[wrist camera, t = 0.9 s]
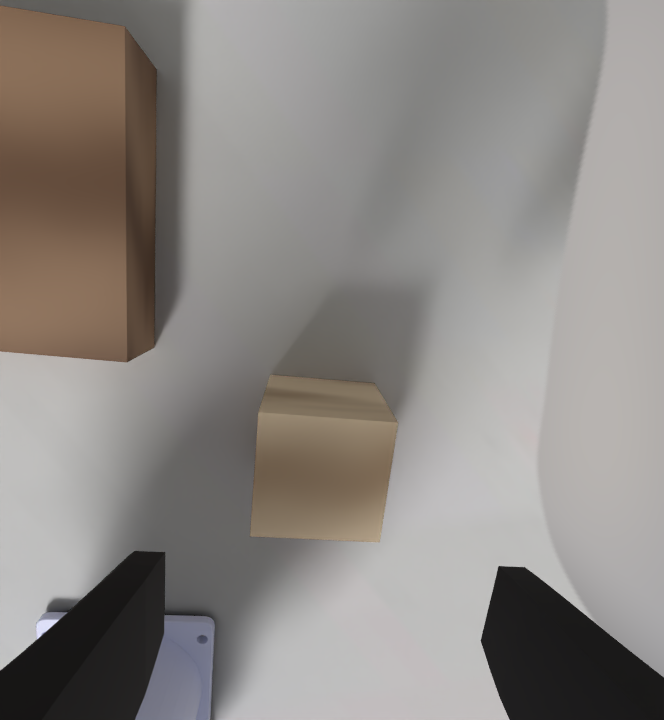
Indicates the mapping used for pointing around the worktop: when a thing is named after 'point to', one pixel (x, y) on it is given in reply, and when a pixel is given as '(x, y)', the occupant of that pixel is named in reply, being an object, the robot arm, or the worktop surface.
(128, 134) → the walnut block
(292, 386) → the oak cube
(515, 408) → the worktop surface
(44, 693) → the robot arm
